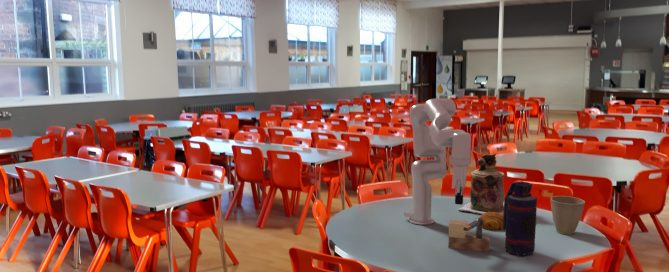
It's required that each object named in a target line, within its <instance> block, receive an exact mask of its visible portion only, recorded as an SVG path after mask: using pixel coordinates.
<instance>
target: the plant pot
mask: <svg viewBox="0 0 669 272" xmlns="http://www.w3.org/2000/svg"><path fill="white" fill-rule="evenodd" d="M585 204H586V201H585V200H583V199H581V198H579V197H573V196H568V195H555V196H551V197H550V207H551V214H552V219H553V223H554V227H555V229H556V232H557V233H558V234H560V235H561V234H562V235H568V236H569V235H573V234H575V231H576V230H577V228H578V226H579V223H580V222H581V221H580V220H581V217H582V215H583V211H584V207H585Z"/></svg>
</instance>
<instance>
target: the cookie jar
mask: <svg viewBox="0 0 669 272" xmlns="http://www.w3.org/2000/svg"><path fill="white" fill-rule="evenodd" d="M496 155H497V152H495V153H493V154H484V155H482V156H481V157H480V158H479V159H478V160H477V161H476V163H477V165H478V166H479V168H477V169H474V170H473V171H472V172H470V177H471V178H470V179H471V181H470V185H471V186H470V192H469V198H470V199H469V200H470V201H469V202H468V203H466V204H464V205H463V206H462V207H460V208H457V210H458V211H461V212H462V211H463V212H470V213H473V214H479V215H482V214H484V213H485V212H490V211H491V212H497V213H499V214H501V215H503V214H504V198H505V188H504V187H505V186H504V177H505V173H504V172H503V171H499V170H498V169H497V168H496V165H497V157H496Z"/></svg>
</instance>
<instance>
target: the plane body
mask: <svg viewBox="0 0 669 272" xmlns="http://www.w3.org/2000/svg"><path fill="white" fill-rule="evenodd" d="M475 228H476V229H475V235H473V234H472V235H471V234H466V237H465V238H455V237H449V236H448V248H449V249H458V250H466V251H467V250H468V251H477V252H478V251H479V252H486V253H489V252H490V245H491V244H490V242H491V241H490V239H491V237H490V236H483V227H482V224H480V225H478V226H476V227H475Z"/></svg>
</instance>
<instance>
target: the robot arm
mask: <svg viewBox="0 0 669 272" xmlns="http://www.w3.org/2000/svg"><path fill="white" fill-rule="evenodd" d="M456 109H457V106H456V104H455V101H454V100H453V99H451V98H430V99H428V100H426V101H425V103H417V104H414V105H412V106H411V107H410V109H409V121H410V123H411V124H410V125H411V129H412V138H413V139H412V140H413V153H414V156H415V157H417V158H434V159H420V160H415V161H414V162H412V163H411V165H410V170H411V171H410V172H411V177H412V200H411V201H412V203H411V204H412V209H411V210H412V211H410V212H408V211H404V212H403V216H404V217H409V219H408V221H409V223H412V224H415V225H418V226H419V225H420V226H422V225H423V226H427V225H432V224H433V223H435V219H434V218H433V217H432V197H433V196H432V194H433V193H432V191H433V190H432V185H431V183H430V182H429V181H428V180H431V179H432V180H433V179H443V178H444V177H445V176H446V173H447V151H446V148H451V166H453V169H452V179H451V180H452V182H451V189H452V190H454V189H455V195H454V205H460V206H461V205H463V204H464V189H465V187H466V183H467V169H468V168H467V167H470V165H471V147H472V146H471V143H472V136H471V134H470V133H469V132H466V131H465V130H463V129H447V127H448V126H449V125H450V124H451V122H452V117H453V116H454V115H456V114H455V113H456V111H457V110H456ZM427 122H431V123H430V126H429V125H428V124H427ZM445 128H446V129H445Z"/></svg>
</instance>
